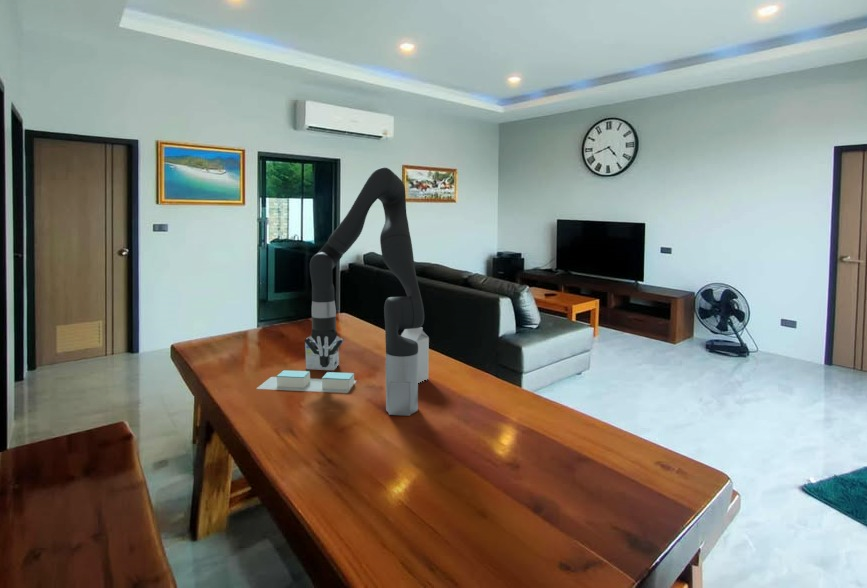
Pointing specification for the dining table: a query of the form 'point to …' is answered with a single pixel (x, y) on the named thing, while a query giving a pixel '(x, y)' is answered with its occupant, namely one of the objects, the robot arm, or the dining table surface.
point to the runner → (311, 386)
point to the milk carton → (420, 350)
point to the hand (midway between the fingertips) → (325, 366)
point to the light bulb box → (314, 359)
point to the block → (338, 380)
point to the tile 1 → (293, 378)
